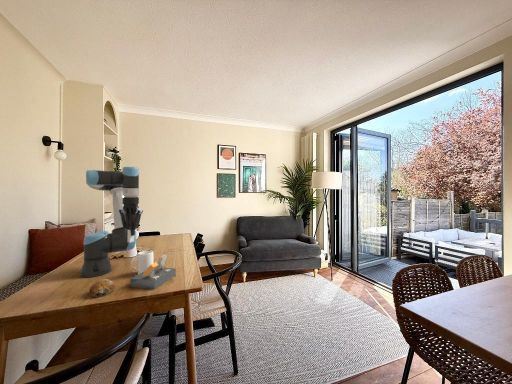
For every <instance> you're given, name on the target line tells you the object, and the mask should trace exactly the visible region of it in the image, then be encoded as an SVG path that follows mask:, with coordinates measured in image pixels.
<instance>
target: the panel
mask: <svg viewBox="0 0 512 384" xmlns="http://www.w3.org/2000/svg"><path fill="white" fill-rule="evenodd" d="M167 258H168V255H167V254H165V253H164V254H162V255H160V256H159V258H158V259H157V261H156V262H157V264H158V266H157V267H156V268H155V270H154V271H153V272H152V273H151V274H150V275H148V276H146V277H144V278H142V277H141V276H142V275H143V273H144V272H145V271H144V272H142V273H140V274H138V273H137V275H134V276H132V277H130V278H129V283H130V284H129V287H130V288H131V287H132V288H140V289H149V290H156V289H158V288H159V287H160V286H162V285H164V284H165V283H167V282H168V281H169V280H171V279H173V278H175V277H176V274H177V271H176V267H175V268H174V267H164V265H165V263H166V260H167Z"/></svg>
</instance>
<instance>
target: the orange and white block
mask: <svg viewBox="0 0 512 384" xmlns="http://www.w3.org/2000/svg"><path fill="white" fill-rule="evenodd" d="M157 262H158V261H155V262H153V264H151V265H150V266H149V267H148V268H147V270H146V271H145V272H144V273H143V275H142V276H141V277H142V278H144V277H146V276H148V275H150V274H151V273H152V272H153V271H154V270H155V268H156V267H157V266H158V264H157Z"/></svg>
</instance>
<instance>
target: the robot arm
mask: <svg viewBox="0 0 512 384" xmlns="http://www.w3.org/2000/svg"><path fill="white" fill-rule="evenodd" d="M139 169H140V168H139V167H136V166H123V167H122V170H121V171H118V170H117V171H116V170H115V171H114V170H96V169H89V170H86V171H85V184H86V185H87V186H88V187H89V188H91V189H94V190H97V191H104V192H105V191H108V193H109V195H111V197H112V209H113V210H112V211H113V212H112V213H113V225H114V226H113V229H112V230H111V232H110V233H109V231H106V230H103V231H96V232H91V233H90V234H87V235H85V236H84V238H83V245H82V246H83V263H82V266H81V269H80V271H79V276H80V277H81V278H93V277H99V276H104V275H107V274H110V272H112V269H113V267H112V266H113V265H112V264H111V260H110V258H109V254H110V253H111V254H112V253H118V252H126V251H132V250H133V249H135V247H136V244H137V231H136V230H137V229H138V228H139V227H140V222H141V218H142V217H141V216H142V214H143V213H144V210H142V209H140V208H139V204H140V197H139V196H140V180H139V179H140V172H139Z"/></svg>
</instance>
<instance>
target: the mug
mask: <svg viewBox="0 0 512 384" xmlns="http://www.w3.org/2000/svg"><path fill="white" fill-rule="evenodd" d="M136 259H137V265H138V266H137V267H135V266H134V265H133V262H134V260H136ZM130 262H131V264H130V265H131V267H132V269H134V270H136V271H137V275H138V274H140V273H142V272H144V271H146V270H147V268H148V267H149V266H150V265H151V264H153V263H154V251H153V250H143V251H142V250H141V251H139V252H138V253H137V255H136V256H134V257H133V258H132V260H131V261H130Z"/></svg>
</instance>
